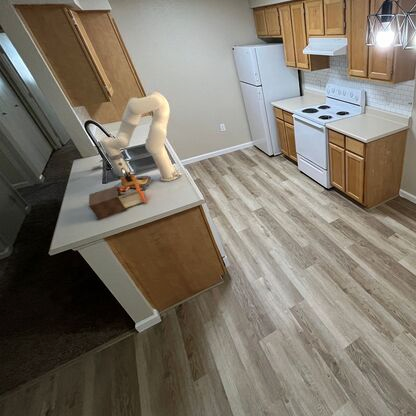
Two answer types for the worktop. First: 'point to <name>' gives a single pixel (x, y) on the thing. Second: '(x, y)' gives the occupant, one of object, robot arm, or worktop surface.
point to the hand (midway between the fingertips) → (129, 178)
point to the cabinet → (106, 202)
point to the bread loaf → (128, 182)
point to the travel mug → (115, 167)
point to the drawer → (133, 196)
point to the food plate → (131, 188)
